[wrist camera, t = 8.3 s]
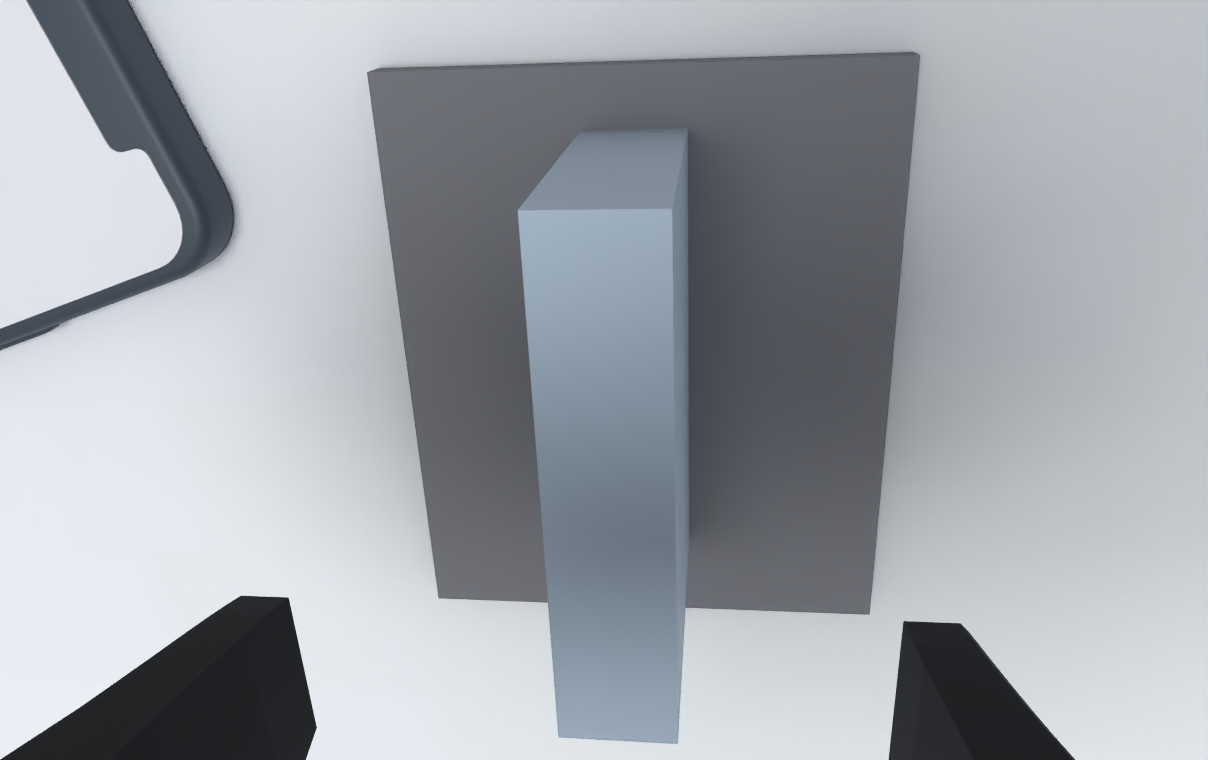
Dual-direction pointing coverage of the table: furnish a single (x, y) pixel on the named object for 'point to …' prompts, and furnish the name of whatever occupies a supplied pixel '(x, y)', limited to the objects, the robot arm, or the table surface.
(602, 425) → the panel
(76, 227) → the phone case
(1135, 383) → the table surface
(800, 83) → the mat
